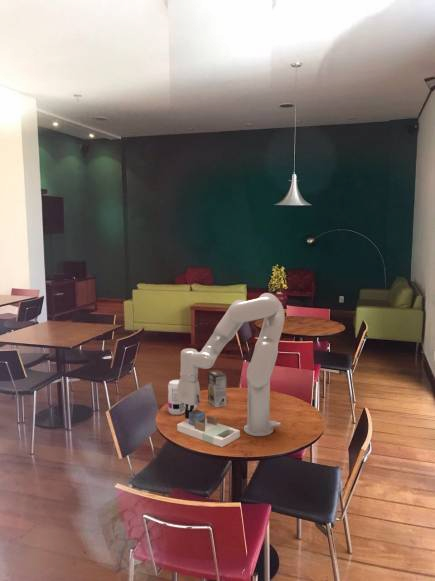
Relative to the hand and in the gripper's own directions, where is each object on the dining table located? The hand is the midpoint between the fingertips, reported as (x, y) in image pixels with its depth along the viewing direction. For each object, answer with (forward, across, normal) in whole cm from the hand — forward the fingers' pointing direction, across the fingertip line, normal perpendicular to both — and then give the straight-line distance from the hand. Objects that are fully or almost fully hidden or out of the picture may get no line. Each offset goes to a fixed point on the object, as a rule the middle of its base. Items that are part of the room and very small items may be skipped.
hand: (188, 417), depth 206 cm
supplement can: (+5, -17, +10) cm, 20 cm away
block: (+1, +5, 0) cm, 5 cm away
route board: (+4, +11, +1) cm, 12 cm away
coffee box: (+5, -9, +30) cm, 32 cm away
